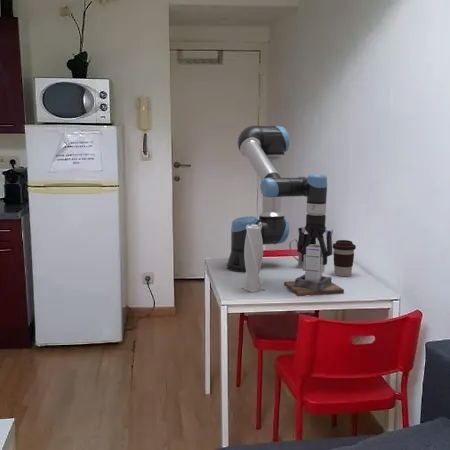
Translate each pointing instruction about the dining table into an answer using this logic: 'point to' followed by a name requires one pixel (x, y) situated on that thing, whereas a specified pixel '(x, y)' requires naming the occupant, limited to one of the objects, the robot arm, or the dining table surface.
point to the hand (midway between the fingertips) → (313, 271)
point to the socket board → (313, 292)
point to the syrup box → (313, 263)
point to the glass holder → (313, 241)
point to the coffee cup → (343, 257)
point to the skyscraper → (253, 258)
